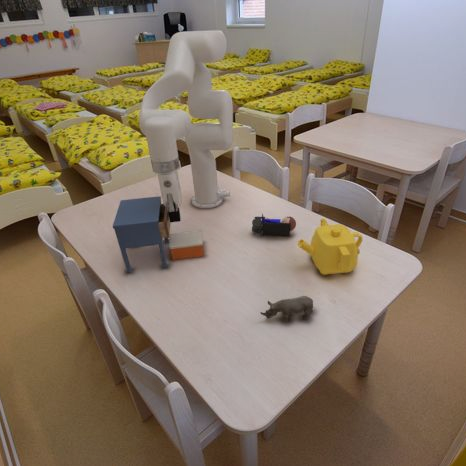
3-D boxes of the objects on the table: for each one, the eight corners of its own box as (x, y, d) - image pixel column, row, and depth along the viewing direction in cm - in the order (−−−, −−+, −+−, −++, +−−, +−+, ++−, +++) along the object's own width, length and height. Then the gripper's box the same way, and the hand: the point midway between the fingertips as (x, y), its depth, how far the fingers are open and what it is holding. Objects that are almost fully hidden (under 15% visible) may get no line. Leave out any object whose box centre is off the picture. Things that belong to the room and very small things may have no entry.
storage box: (203, 242, 114) (201, 230, 111) (204, 256, 107) (202, 243, 104) (172, 246, 113) (170, 233, 110) (171, 260, 106) (169, 247, 103)
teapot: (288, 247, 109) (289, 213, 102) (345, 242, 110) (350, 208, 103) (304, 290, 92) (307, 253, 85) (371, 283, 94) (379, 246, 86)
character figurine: (252, 228, 120) (295, 231, 118) (250, 239, 114) (295, 241, 111) (252, 209, 116) (296, 210, 114) (250, 218, 110) (296, 220, 108)
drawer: (171, 216, 109) (168, 200, 106) (170, 238, 99) (167, 221, 96) (139, 219, 108) (135, 204, 105) (135, 242, 98) (130, 225, 95)
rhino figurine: (258, 314, 86) (258, 297, 83) (311, 307, 87) (312, 290, 84) (261, 326, 83) (261, 309, 79) (316, 319, 84) (318, 302, 80)
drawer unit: (169, 240, 116) (160, 196, 106) (167, 268, 103) (157, 221, 94) (132, 244, 115) (120, 200, 105) (126, 273, 102) (112, 226, 92)
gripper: (179, 173, 87) (188, 232, 97) (179, 153, 99) (187, 207, 109) (150, 176, 86) (162, 235, 96) (153, 155, 99) (164, 210, 109)
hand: (175, 220), depth 103 cm, fingers closed
